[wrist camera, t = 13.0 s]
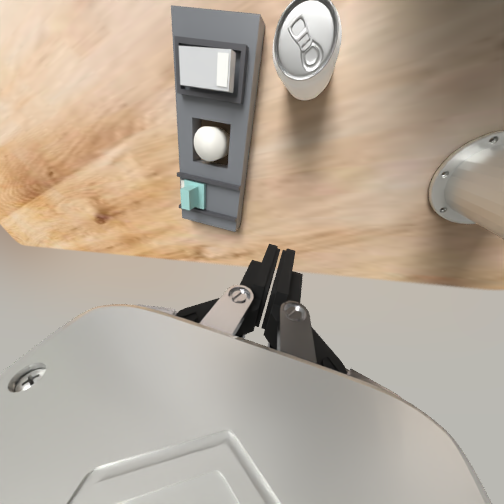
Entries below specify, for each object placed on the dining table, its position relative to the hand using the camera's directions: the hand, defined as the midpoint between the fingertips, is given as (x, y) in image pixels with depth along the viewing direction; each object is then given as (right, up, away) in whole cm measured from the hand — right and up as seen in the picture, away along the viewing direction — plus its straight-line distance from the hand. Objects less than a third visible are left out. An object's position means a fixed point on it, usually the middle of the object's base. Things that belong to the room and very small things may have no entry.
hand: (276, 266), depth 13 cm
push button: (-8, +20, +23) cm, 32 cm away
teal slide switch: (-12, +12, +26) cm, 31 cm away
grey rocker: (-8, +25, +14) cm, 30 cm away
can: (+6, +26, +15) cm, 31 cm away
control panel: (-8, +20, +23) cm, 32 cm away
